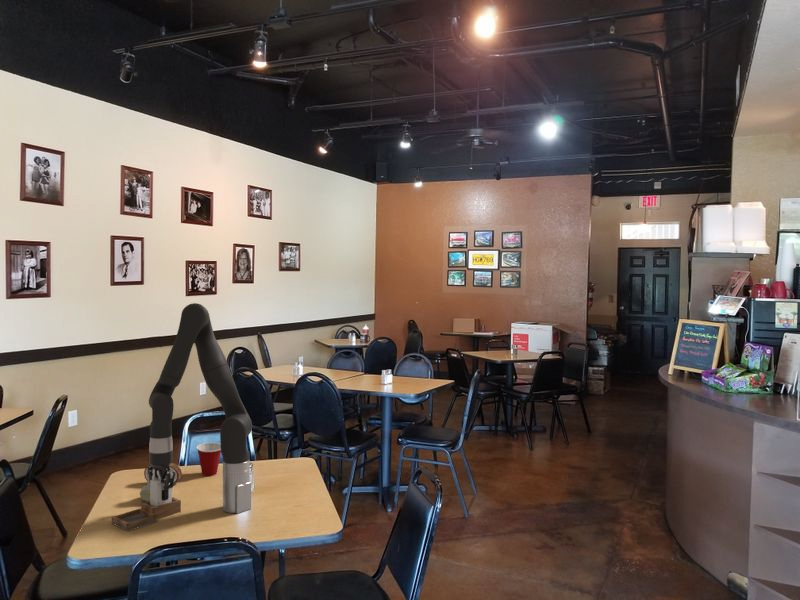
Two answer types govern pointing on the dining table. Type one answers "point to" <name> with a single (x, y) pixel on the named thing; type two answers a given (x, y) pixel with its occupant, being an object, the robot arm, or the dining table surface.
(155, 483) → the skincare box
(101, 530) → the dining table surface
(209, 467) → the plastic cup
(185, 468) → the dining table surface
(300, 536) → the dining table surface
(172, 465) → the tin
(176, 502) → the caddy
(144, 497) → the air freshener
